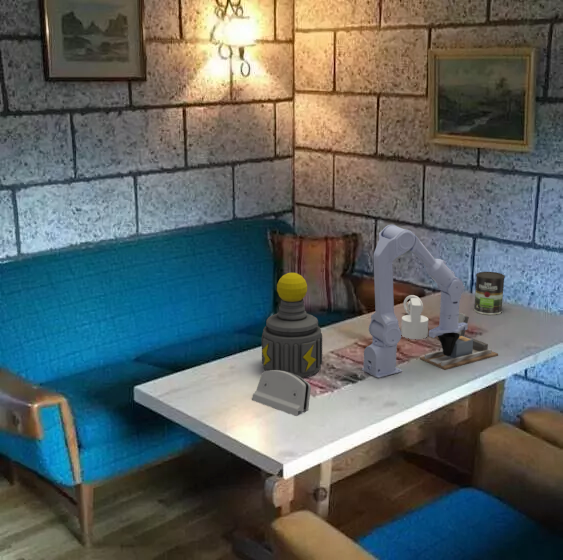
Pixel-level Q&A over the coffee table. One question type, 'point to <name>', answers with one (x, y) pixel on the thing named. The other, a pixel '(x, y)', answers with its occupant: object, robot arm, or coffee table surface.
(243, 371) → the coffee table surface
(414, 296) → the ring around a ball
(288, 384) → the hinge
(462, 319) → the electrical switch
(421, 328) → the cylinder with rectangular tab
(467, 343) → the block
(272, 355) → the grey tesla coil
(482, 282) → the coffee can
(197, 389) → the coffee table surface
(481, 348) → the din rail board
